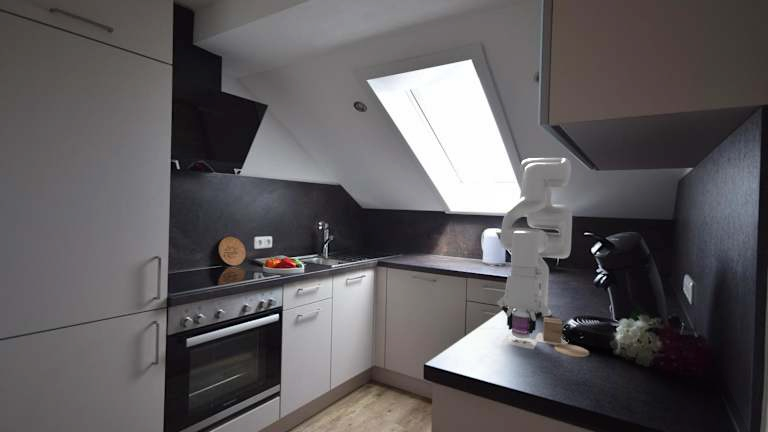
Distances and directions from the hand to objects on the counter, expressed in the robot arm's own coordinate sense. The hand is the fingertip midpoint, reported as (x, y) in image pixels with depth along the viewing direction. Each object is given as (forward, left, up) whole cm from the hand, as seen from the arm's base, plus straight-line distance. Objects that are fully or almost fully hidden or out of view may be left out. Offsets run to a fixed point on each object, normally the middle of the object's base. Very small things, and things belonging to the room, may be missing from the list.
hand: (521, 329), depth 118 cm
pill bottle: (0, 0, -2) cm, 2 cm away
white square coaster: (+1, 0, -3) cm, 4 cm away
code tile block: (-7, +8, -3) cm, 11 cm away
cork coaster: (0, +14, -3) cm, 14 cm away
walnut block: (-7, +8, -3) cm, 11 cm away
